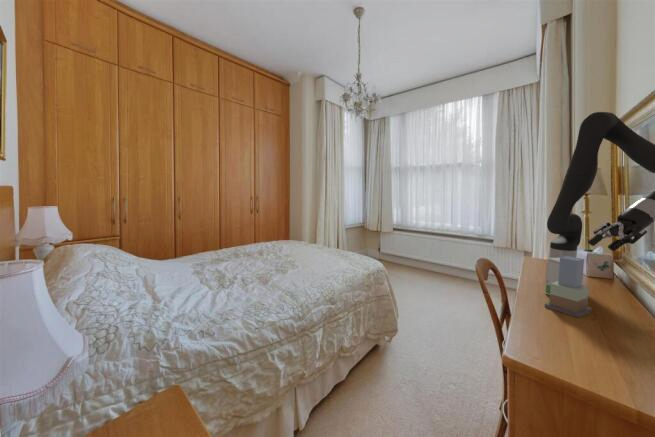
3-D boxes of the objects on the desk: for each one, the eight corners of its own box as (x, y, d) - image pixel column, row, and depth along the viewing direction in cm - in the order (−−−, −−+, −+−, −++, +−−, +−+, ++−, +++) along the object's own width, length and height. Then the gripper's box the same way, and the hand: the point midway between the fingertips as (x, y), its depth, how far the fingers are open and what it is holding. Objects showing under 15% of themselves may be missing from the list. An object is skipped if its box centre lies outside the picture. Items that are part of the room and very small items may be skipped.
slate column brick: (558, 284, 99) (560, 257, 98) (564, 282, 101) (566, 256, 100) (575, 288, 95) (577, 260, 94) (582, 286, 97) (584, 259, 96)
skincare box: (544, 293, 114) (546, 257, 112) (558, 292, 115) (560, 257, 113) (563, 301, 106) (566, 263, 104) (578, 300, 106) (581, 262, 105)
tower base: (544, 306, 101) (546, 283, 100) (557, 301, 106) (559, 278, 105) (578, 317, 92) (580, 291, 91) (591, 311, 97) (593, 286, 96)
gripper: (614, 205, 99) (576, 235, 102) (654, 208, 85) (609, 242, 88) (629, 219, 99) (591, 249, 102) (672, 224, 85) (626, 259, 88)
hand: (599, 246), depth 95 cm, fingers open, 8 cm apart
